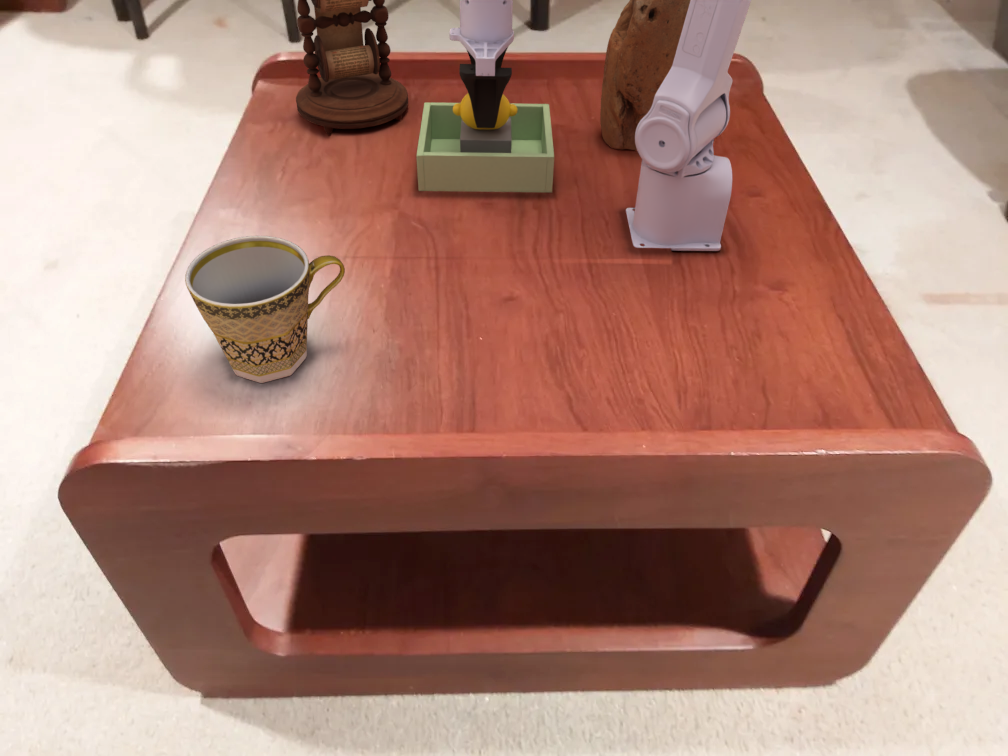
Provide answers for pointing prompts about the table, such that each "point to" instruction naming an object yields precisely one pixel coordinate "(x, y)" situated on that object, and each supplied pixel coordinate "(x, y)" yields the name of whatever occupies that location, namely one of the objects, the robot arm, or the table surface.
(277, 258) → the ceramic cup
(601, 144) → the table surface
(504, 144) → the grey block
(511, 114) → the lemon
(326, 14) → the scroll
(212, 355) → the table surface
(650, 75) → the brown upright lump
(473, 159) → the crate
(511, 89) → the table surface
